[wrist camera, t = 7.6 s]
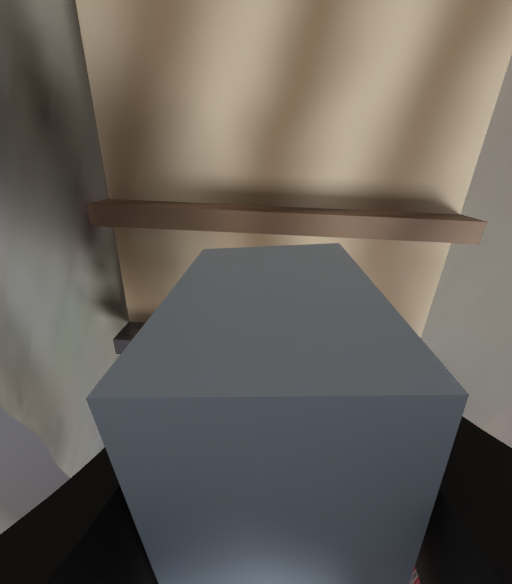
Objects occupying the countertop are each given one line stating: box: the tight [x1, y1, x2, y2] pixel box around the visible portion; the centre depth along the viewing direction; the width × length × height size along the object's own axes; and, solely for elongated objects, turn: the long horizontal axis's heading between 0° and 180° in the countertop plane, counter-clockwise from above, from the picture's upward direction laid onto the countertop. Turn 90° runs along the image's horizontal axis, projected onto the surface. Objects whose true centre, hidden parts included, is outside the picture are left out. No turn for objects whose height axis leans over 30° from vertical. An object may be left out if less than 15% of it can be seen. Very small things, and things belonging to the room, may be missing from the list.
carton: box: [86, 243, 469, 584], centre depth 7 cm, size 8×4×6 cm, turn 3°
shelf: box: [76, 0, 512, 338], centre depth 14 cm, size 18×20×3 cm
